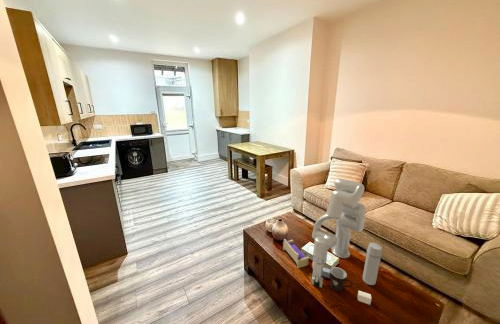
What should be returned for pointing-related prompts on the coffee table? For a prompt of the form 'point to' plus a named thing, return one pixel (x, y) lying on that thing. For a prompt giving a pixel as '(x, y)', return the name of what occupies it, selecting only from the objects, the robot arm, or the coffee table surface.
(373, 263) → the water bottle
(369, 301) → the cream brick
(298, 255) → the toy sofa
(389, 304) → the coffee table surface
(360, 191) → the robot arm
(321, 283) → the sage brick
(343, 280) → the coffee mug
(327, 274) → the slate brick
